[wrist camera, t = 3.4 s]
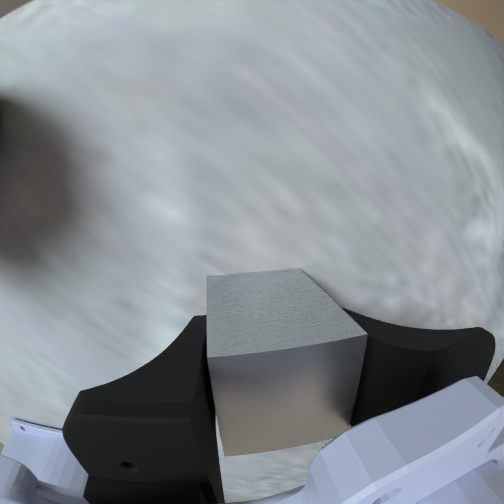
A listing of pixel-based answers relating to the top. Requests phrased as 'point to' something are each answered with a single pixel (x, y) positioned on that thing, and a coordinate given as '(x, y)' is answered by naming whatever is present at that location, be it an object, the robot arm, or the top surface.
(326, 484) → the robot arm
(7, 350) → the top surface
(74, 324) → the top surface
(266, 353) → the pale grey block
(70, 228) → the top surface
